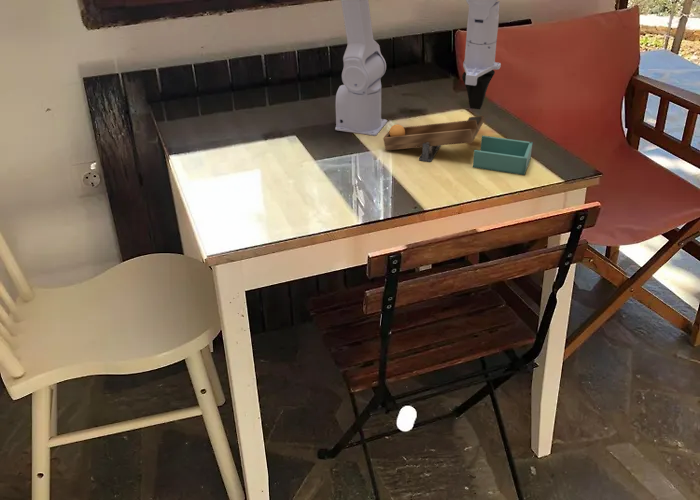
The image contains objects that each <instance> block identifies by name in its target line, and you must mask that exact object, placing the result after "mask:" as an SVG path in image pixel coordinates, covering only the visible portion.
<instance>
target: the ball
mask: <svg viewBox="0 0 700 500" xmlns="http://www.w3.org/2000/svg"><path fill="white" fill-rule="evenodd" d="M403 127H404V126H403V125H401V124H393V125H391V127H390V128H389V130H390V131H389V130H388V132H389V134H390V137H394V136H404V135H405V129H404V128H403Z"/></svg>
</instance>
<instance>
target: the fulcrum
mask: <svg viewBox="0 0 700 500" xmlns="http://www.w3.org/2000/svg"><path fill="white" fill-rule="evenodd" d="M441 147H442V145H439V146H429V144H428V143H423V147H422V153H420V156H419V157H418V161H421V162H424V163H425V162H427V163H431V162H432V161H433V159H434V158H435V156H436V154H437V153H438V152H439V150H440V148H441Z"/></svg>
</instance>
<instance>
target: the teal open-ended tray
mask: <svg viewBox="0 0 700 500" xmlns="http://www.w3.org/2000/svg"><path fill="white" fill-rule="evenodd" d="M480 140H481V141H480V150H478V149H474V150H473V161H472V168H473V169H481V170H488V171H495V172H502V173H508V174H513V175H522V176H525V175H526V172H527V170H528V167H529V164H530V161H531V159H532V151H533V144H534V143H533V141H527V140H519V139H511V138H505V137H504V138H503V137H497V136H489V135H483V134H482V135H481V139H480Z"/></svg>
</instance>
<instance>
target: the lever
mask: <svg viewBox="0 0 700 500" xmlns="http://www.w3.org/2000/svg"><path fill="white" fill-rule="evenodd" d="M484 122H485V115H477V116H469V118H468V119H467V120H460V121H452V122H451V121H450V122H440V123H439V122H438V123H432V124H429V123H428V124H422V125H409V126H403V128H404V129H405V135H404V136H394V137H390V134H389V131H390V129H388V131H387V133H386V134H385V135H384V137H383V138H382V139H383V144H384V147H385V148H384V149H385V151H392V150H393V151H395V150H404V149H405V150H406V149H415V148H423V143H428V144H429V146H439V145H441V146H448V145H449V146H450V145H456V144H457V145H461V144H470V143H473V142H474V140H475V139H476V137H477V135H478V133H479V131H480V130H481V128H482V125H484V124H483V123H484Z"/></svg>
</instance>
